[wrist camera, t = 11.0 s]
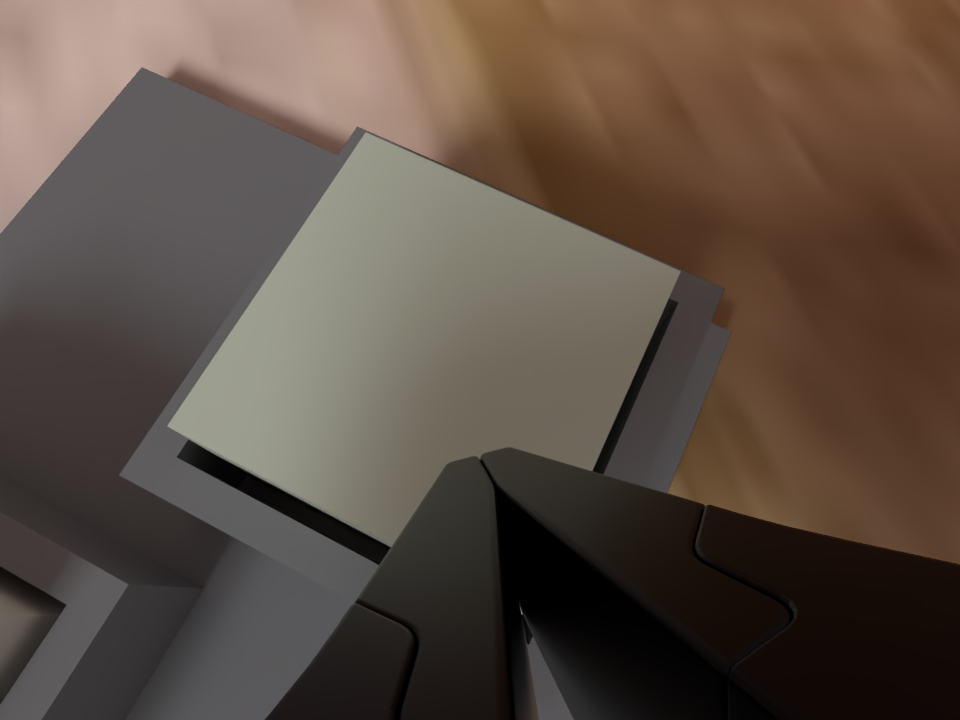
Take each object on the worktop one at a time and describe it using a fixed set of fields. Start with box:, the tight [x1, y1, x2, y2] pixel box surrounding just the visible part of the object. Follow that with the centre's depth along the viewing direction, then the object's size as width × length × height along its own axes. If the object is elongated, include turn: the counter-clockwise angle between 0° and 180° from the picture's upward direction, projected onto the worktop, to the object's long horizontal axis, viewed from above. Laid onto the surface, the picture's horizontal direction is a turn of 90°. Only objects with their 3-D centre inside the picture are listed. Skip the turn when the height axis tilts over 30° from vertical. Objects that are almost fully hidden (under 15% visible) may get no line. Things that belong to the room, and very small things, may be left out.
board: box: [0, 68, 731, 720], centre depth 15 cm, size 20×23×5 cm
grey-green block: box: [167, 133, 681, 615], centre depth 15 cm, size 7×7×6 cm
